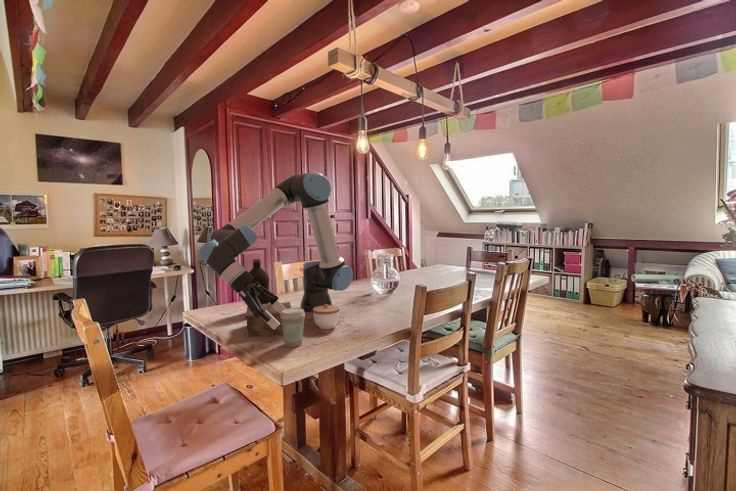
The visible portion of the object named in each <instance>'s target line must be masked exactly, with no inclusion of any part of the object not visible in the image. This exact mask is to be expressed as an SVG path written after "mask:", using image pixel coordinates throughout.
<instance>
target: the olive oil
mask: <svg viewBox="0 0 736 491" xmlns="http://www.w3.org/2000/svg"><path fill="white" fill-rule="evenodd" d="M261 263H262V262H261V259H260V258H253V259H252V269H251V270H250V271H248V272H249V273H250V274H251V275H252V276H253V277H254V279H253V281H252V283H253V284H255V283H256V282H258V283H259V284H260V285H261V286H263V287H264V288H266V289H267V290H268V291H270V277H269V275H268V273H267V272H266V271H265V270H264V269H263V267H261V266H262V265H261ZM258 299H259V301H260V303H261V304H270V303H268V302H266V301H264V300H262V299H260V298H258ZM246 306H247V305H246ZM247 307H248V306H247Z"/></svg>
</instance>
